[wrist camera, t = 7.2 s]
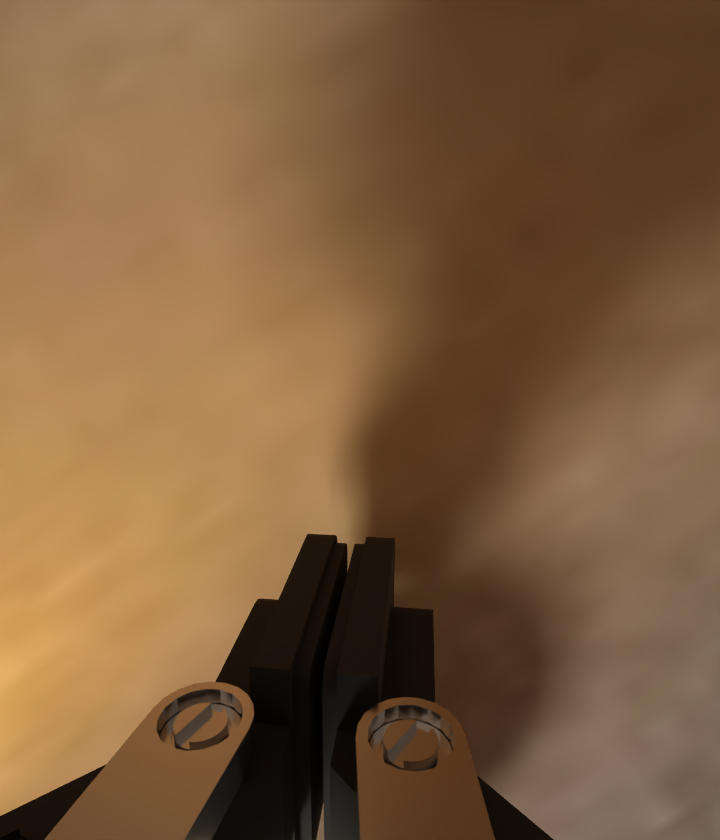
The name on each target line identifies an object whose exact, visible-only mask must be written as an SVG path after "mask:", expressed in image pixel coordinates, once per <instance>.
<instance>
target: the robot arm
mask: <svg viewBox="0 0 720 840" xmlns="http://www.w3.org/2000/svg"><path fill="white" fill-rule="evenodd" d="M394 562H395V538H376V537H366V541H365V544H355V545H354V549H353V553H352V557H351V561H350V565H349V569H348V573H347V544H346V543H337V537H336V535H318V534H308V535H307V536H306V538H305V541H304V543H303V545H302V548H301V550H300V552H299V554H298V557H297V559H296V561H295V563H294V566H293V568H292V570H291V573H290V575H289V577H288V579H287V582H286V584H285V586H284V589H283V591H282V593H281V595H280V598H279V600H274V599H258V600H257V601H256V603H255V604H254V606H253V608H252V610H251V612H250V614H249V616H248V618H247V620H246V622H245V624H244V626H243V628H242V630H241V632H240V634H239V636H238V638H237V640H236V642H235V644H234V646H233V648H232V650H231V652H230V654H229V656H228V658H227V660H226V662H225V664H224V666H223V668H222V670H221V672H220V674H219V676H218V678H217V680H216V682H205V683H197V684H193V685H190V686H187V687H184V688H181V689H178V690H177V691H175V692H173V693H171V694H170V695H168V696H166V697H165V698H163V699H162V700H161V701H160V702H159V703H158V704H157V705H156V706H155V707H154V708H153V709H152V710H151V711H150V713H149V714H148V715H147V716H146V717H145V719H144V720H143V721H142V722H141V723H140V725H139V726H138V727H137V728H136V729H135V731H134V732H133V733H132V734H131V735H130V737H129V738H128V739H127V740H126V741H125V743H124V744H123V745H122V746H121V748H120V749H119V750H118V751H117V752H116V754H115V755H114V756H113V757H112V758H111V760H110V761H109V762H108V763H107V764H106V765H104V766H102V767H100V768H98V769H96V770H94V771H92V772H90V773H88V774H86V775H84V776H82V777H80V778H78V779H75V780H73V781H71V782H69V783H67V784H65V785H63V786H61V787H59V788H57V789H55V790H53V791H51V792H49V793H47V794H45V795H43V796H41V797H39V798H37V799H35V800H33V801H30V802H28V803H26V804H24V805H22V806H20V807H18V808H16V809H14V810H12V811H10V812H8V813H6V814H4V815H2V816H0V840H316V839H317V834H318V829H319V823H320V818H321V813H322V807H323V803H324V840H553V839H552V838H551V837H550V836H549V835H547V834H546V833H545V832H544V831H543V830H541V829H540V828H539V827H538V826H537V825H535V824H534V823H533V822H532V821H531V820H529V819H528V818H527V817H526V816H525V815H524V814H522V813H521V812H520V811H519V810H518V809H516V808H515V807H514V806H513V805H512V804H510V803H509V802H508V801H507V800H506V799H504V798H503V797H502V796H501V795H500V794H498V793H497V792H496V791H495V790H494V789H492V788H491V787H490V786H489V785H488V784H486V783H485V782H484V781H483V780H482V779H480V778H479V777H478V776H477V773H476V770H475V766H474V763H473V759H472V755H471V752H470V748H469V745H468V741H467V738H466V734H465V732H464V730H463V728H462V726H461V724H460V722H459V721H458V720H457V719H456V718H455V717H454V716H453V715H452V713H451V712H450V711H448V710H447V709H445V708H443V707H442V706H440V705H438V704H436V703H435V679H434V632H433V610H431V609H415V608H399V607H394Z"/></svg>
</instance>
